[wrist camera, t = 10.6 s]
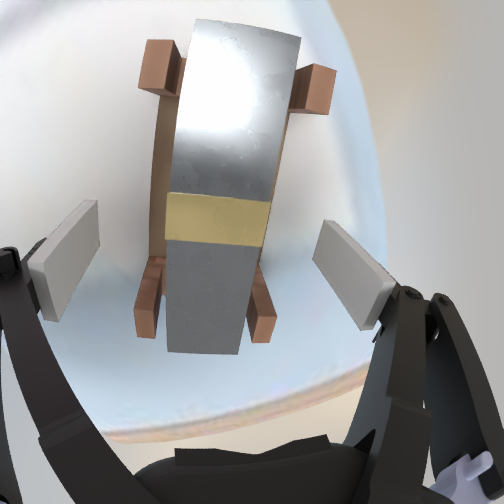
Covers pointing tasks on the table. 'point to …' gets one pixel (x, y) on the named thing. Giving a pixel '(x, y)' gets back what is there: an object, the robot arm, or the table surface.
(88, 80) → the table surface
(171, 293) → the grey metal bar
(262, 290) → the stove stand
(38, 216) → the table surface
